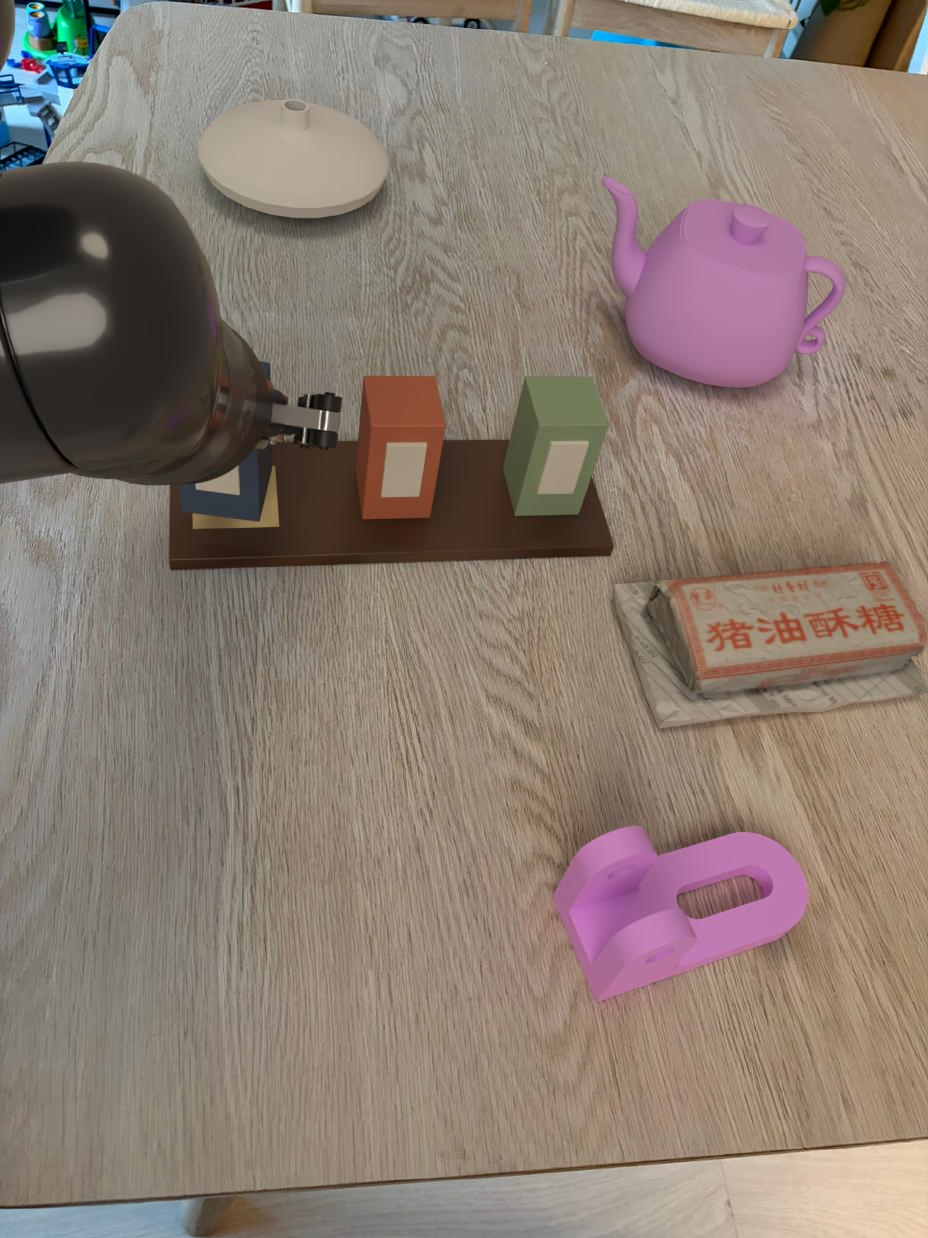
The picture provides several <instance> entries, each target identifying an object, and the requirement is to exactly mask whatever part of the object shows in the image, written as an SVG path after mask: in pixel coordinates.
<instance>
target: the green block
mask: <svg viewBox="0 0 928 1238" xmlns="http://www.w3.org/2000/svg"><path fill="white" fill-rule="evenodd" d="M521 387H522V388H521V391H520V395H519V399H518V402H517V408H516V412H515V417H514V420H513V424H512V428H511V433H510V437H509V440H510V441H509V445H508V449H507V453H506V458H505V462H504V466H503V470H504V474H505V478H506V482H507V486H508V490H509V494H510V498H511V502H512V506H513V510H514V514H515V516H535V515H577V514H579V512H580V509H581V506H582V503H583V500H584V497H585V494H586V491H587V488H588V485H589V482H590V480H591V477H592V478H593V474H594V470H595V468H596V465H597V462H598V459H599V456H600V452H601V450H602V448H603V447H602V446H603V444H604V441H605V438H606V435H607V433H608V429H609V426H610V424H609V421H608V418H607V415H606V412H605V409H604V406H603V404H602V403H603V402H602V400H601V397H600V395H599V392H598V389H597V386H596V383H595V380H594V378H593V376H559V375H558V376H555V375H554V376H553V375H551V376H550V375H549V376H547V375H546V376H545V375H544V376H541V375H537V376H535V375H534V376H533V375H532V376H531V375H526V376H525V375H524V379H523V383H522V386H521Z"/></svg>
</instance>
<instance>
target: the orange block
mask: <svg viewBox="0 0 928 1238" xmlns="http://www.w3.org/2000/svg"><path fill="white" fill-rule="evenodd" d="M360 398H361V399H360V411H359V423H358V424H359V425H358V436H357V441H358V447H357V460H356V476H357V484H358V491H359V499H360V506H361V513H362V519H401V518H430V516H431V510H432V504H433V498H434V493H435V487H436V481H437V475H438V469H439V463H440V457H441V452H442V446H443V440H445V433H446V428H447V424H446V421H445V415H444V411H443V405H442V401H441V397H440V391H439V387H438V383H437V377H436V376H435V375H363V376H362V387H361V397H360Z"/></svg>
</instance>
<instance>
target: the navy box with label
mask: <svg viewBox="0 0 928 1238" xmlns="http://www.w3.org/2000/svg"><path fill="white" fill-rule="evenodd" d="M259 362H260V364H261V366H262V369H263V371H264V374H265V377H266V380H268V381H271V382H272V379H271V378H272V377H271V376H272V375H271V371H272V370H271V362H270V361H263V360H262V361H261V360H259ZM271 472H272V444H268V445H267V447H266V448H265V449H264V450H263V449H255V448H254V449H253V451H252V452H251V453H250V454H249V456H248V457H247V458H246V459H245V460H244V461H243V462H242V463H241V464H240V465H238V466H237V467H236V468H234V469H233V470H231V471H230V472H228V473H227V474H225V475H223V476H221V477H218V478H216V479H213V480H210V481H207V482H203V483H197V484H181V485H179V489H180V497H181V506H182V512H187V513H195V514H202V515H210V516H218V517H225V518H233V519H241V520H248V521H256V522H259V521H260V518H261V514H262V510H263V505H264V501H265V497H266V493H267V488H268V484H269V480H270V476H271Z"/></svg>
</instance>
